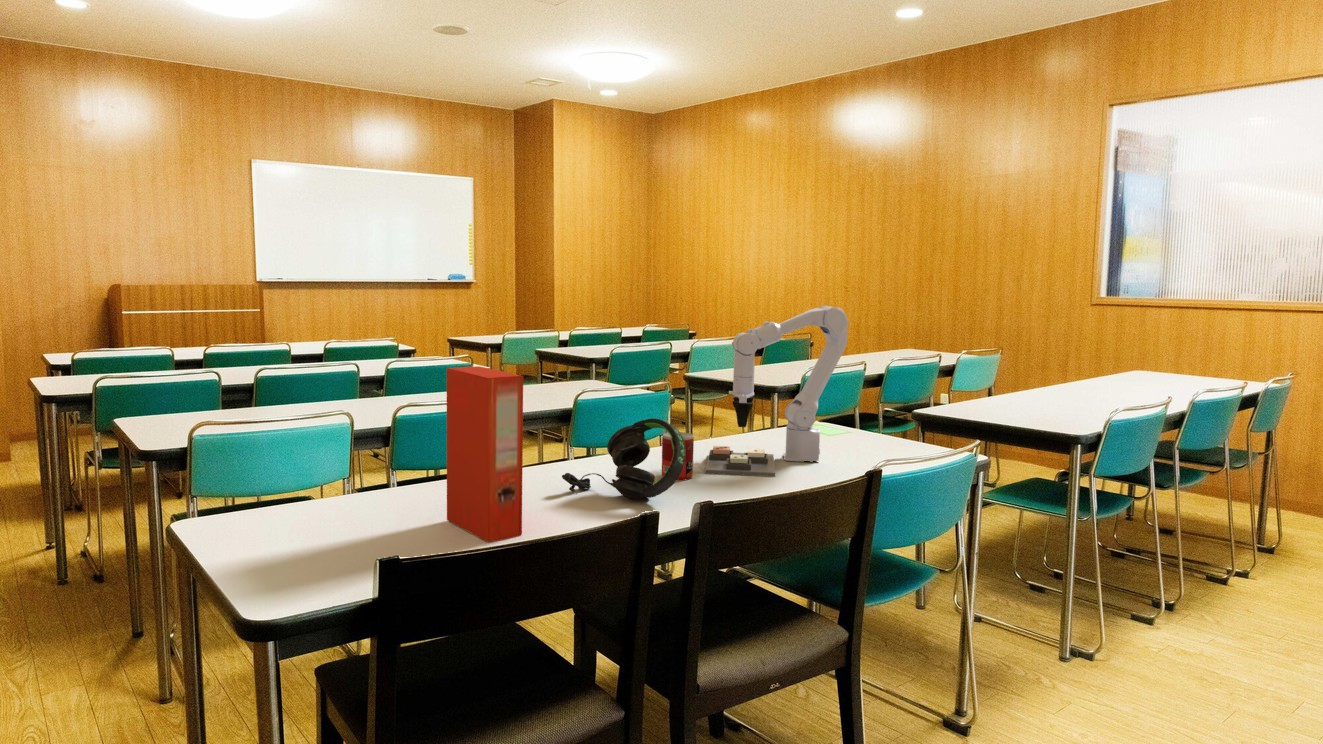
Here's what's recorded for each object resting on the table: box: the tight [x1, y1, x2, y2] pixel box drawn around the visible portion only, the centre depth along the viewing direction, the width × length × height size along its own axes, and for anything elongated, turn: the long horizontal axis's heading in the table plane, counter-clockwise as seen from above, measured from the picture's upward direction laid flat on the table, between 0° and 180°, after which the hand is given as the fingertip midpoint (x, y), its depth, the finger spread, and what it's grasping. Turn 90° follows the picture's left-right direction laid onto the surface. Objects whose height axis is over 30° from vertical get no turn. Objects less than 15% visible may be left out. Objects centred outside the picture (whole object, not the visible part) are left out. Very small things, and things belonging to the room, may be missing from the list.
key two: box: [730, 455, 748, 464], centre depth 226 cm, size 5×5×1 cm
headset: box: [561, 417, 686, 500], centre depth 197 cm, size 18×14×29 cm
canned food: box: [661, 431, 695, 481], centre depth 217 cm, size 8×8×11 cm
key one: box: [746, 448, 766, 457], centre depth 233 cm, size 5×5×1 cm
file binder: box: [446, 365, 524, 543], centre depth 171 cm, size 8×17×32 cm, turn 39°
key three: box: [712, 445, 731, 454], centre depth 236 cm, size 5×5×1 cm
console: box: [705, 449, 776, 478], centre depth 232 cm, size 18×22×2 cm
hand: (742, 424), depth 238 cm, fingers open, 6 cm apart
